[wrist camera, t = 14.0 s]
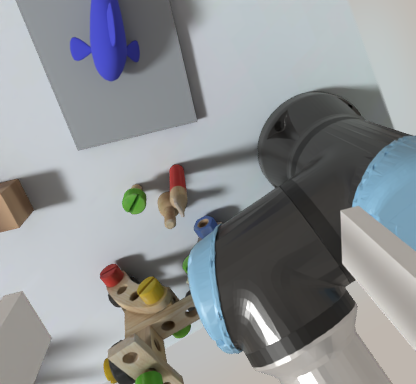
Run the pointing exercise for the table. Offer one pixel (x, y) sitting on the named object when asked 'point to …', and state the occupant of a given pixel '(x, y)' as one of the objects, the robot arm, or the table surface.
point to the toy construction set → (151, 300)
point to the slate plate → (129, 79)
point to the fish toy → (106, 40)
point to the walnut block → (13, 205)
